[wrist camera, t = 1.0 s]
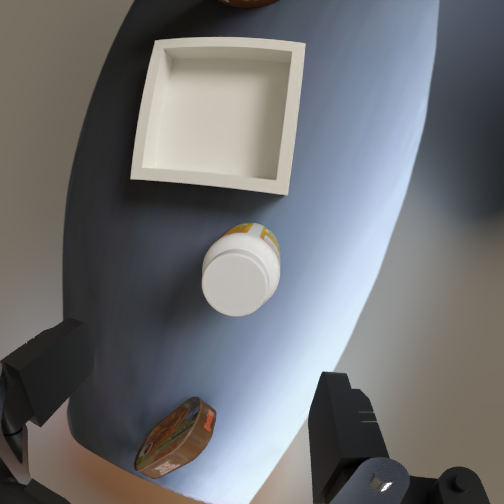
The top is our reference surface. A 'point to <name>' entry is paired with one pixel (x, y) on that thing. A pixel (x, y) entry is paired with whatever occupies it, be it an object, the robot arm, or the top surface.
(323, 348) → the top surface
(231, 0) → the ice cream tub
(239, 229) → the supplement bottle
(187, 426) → the tin
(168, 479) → the top surface
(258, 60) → the tray
